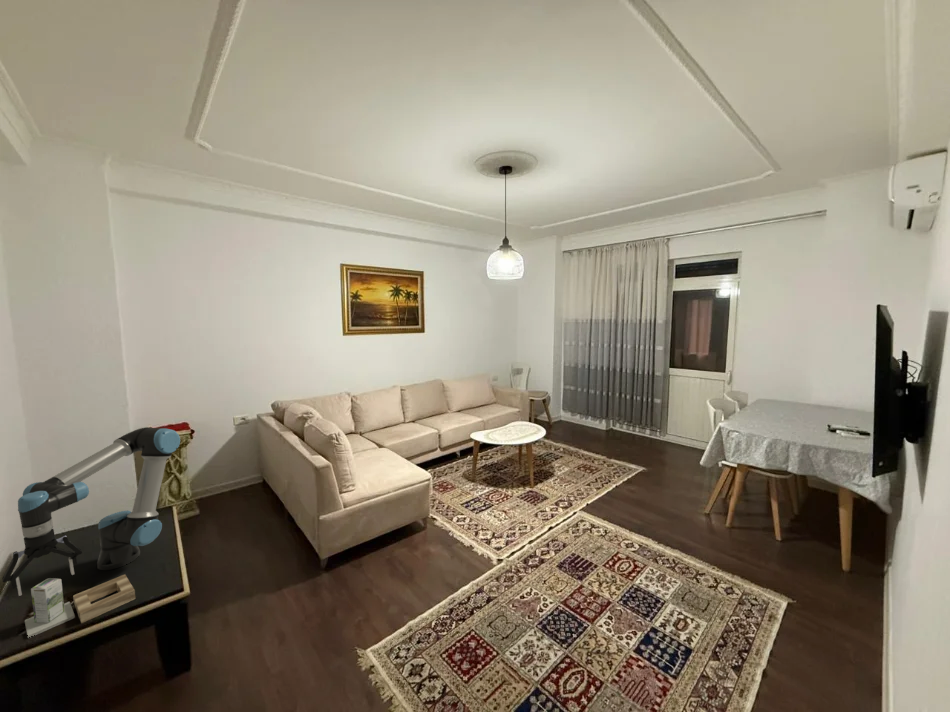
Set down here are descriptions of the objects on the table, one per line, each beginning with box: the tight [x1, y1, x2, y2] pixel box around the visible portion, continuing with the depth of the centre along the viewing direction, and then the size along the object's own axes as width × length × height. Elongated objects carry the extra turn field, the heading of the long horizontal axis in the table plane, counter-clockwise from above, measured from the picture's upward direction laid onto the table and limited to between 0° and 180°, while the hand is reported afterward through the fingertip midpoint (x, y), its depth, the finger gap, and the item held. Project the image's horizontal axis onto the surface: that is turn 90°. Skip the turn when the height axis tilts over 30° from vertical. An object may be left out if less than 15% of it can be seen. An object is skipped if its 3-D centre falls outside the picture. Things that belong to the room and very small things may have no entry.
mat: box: [24, 601, 76, 639], centre depth 148 cm, size 12×12×1 cm
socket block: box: [72, 574, 136, 624], centre depth 157 cm, size 16×16×4 cm
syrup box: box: [30, 577, 65, 623], centre depth 147 cm, size 6×6×14 cm
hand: (47, 583), depth 146 cm, fingers open, 13 cm apart
